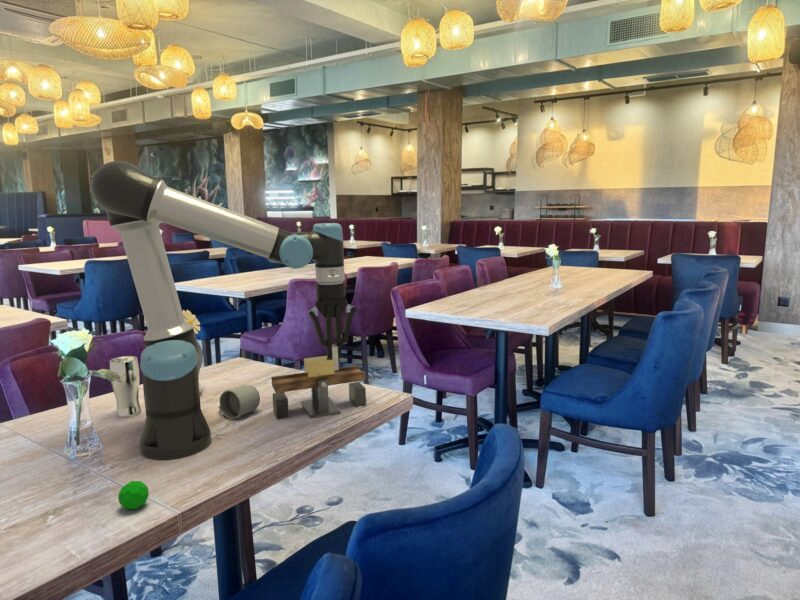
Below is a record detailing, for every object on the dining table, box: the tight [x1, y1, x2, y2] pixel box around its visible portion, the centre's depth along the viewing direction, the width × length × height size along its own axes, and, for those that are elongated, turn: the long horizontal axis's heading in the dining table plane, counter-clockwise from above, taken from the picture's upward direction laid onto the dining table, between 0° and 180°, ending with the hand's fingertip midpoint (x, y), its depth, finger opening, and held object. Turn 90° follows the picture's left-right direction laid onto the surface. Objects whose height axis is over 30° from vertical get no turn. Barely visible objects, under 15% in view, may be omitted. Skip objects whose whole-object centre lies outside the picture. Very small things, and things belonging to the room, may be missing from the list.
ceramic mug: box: [218, 384, 261, 420], centre depth 148 cm, size 11×8×8 cm
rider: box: [303, 355, 334, 379], centre depth 149 cm, size 7×5×5 cm, turn 111°
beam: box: [270, 365, 366, 393], centre depth 149 cm, size 24×7×2 cm, turn 111°
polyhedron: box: [117, 480, 150, 510], centre depth 102 cm, size 5×5×5 cm
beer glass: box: [109, 355, 142, 419], centre depth 148 cm, size 7×7×15 cm
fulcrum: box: [272, 379, 367, 420], centre depth 150 cm, size 24×12×9 cm, turn 111°
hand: (334, 369), depth 150 cm, fingers closed
